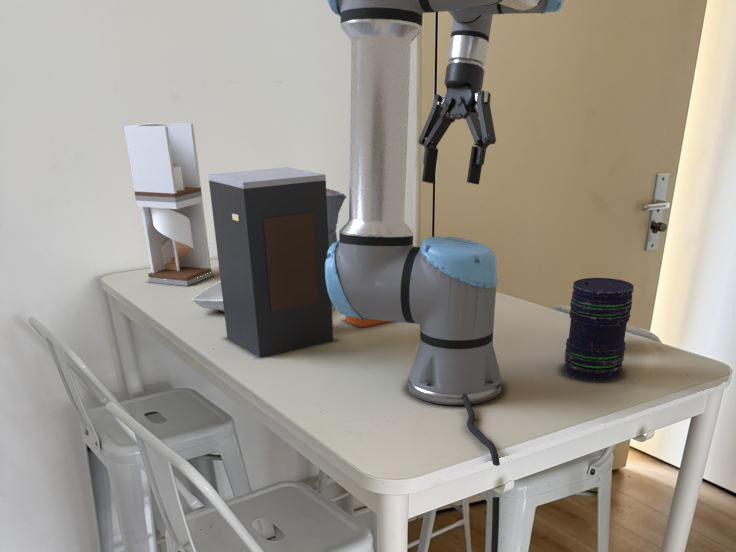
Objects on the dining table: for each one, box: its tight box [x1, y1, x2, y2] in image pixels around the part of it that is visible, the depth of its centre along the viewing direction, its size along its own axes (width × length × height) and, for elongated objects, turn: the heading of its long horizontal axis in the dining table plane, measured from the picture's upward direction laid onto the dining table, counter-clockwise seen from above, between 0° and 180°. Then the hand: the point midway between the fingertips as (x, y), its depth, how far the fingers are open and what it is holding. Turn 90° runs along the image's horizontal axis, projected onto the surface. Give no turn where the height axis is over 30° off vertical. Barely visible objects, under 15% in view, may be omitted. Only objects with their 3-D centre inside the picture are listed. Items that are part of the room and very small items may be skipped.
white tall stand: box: [123, 122, 213, 287], centre depth 186 cm, size 11×11×35 cm
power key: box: [344, 315, 389, 328], centre depth 164 cm, size 21×6×2 cm, turn 125°
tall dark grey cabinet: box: [207, 167, 334, 358], centre depth 144 cm, size 16×14×30 cm
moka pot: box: [326, 188, 347, 248], centre depth 207 cm, size 10×15×20 cm, turn 78°
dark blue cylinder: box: [563, 277, 635, 383], centre depth 130 cm, size 10×10×15 cm
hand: (449, 183), depth 157 cm, fingers open, 13 cm apart
